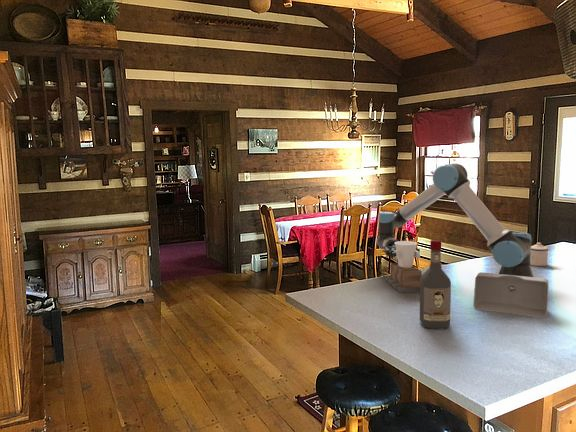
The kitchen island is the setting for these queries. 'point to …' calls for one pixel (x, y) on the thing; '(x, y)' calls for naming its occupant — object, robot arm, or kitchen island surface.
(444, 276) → the liquor
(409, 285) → the brown rectangular block
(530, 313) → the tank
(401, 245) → the cup
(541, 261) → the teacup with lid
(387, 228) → the robot arm
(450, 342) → the kitchen island surface
